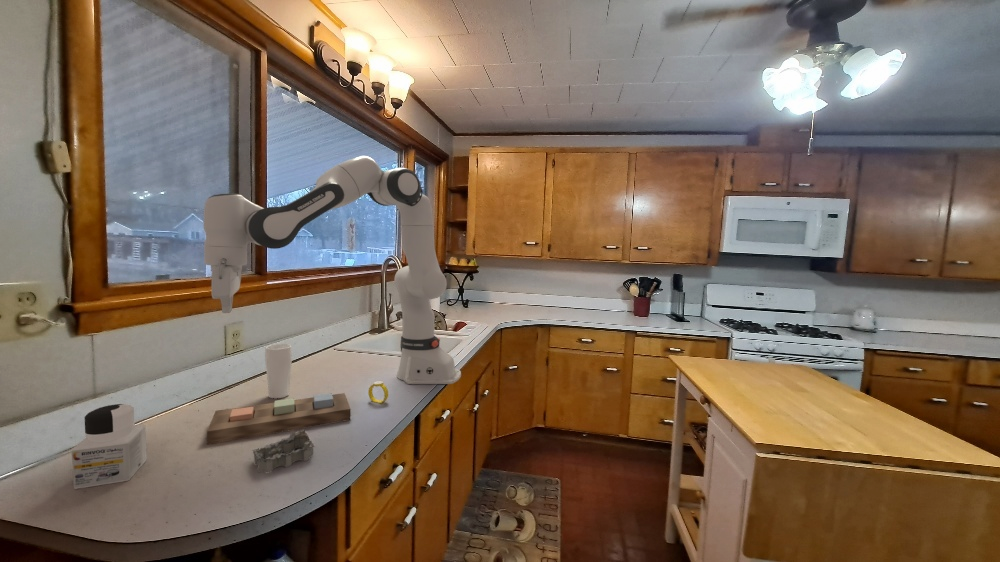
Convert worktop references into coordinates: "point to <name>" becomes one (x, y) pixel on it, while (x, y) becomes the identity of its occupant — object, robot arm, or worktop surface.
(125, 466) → the container
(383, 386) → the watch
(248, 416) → the terracotta button
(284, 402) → the sage button
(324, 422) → the button panel
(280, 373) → the drinking glass
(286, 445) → the egg carton
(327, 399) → the slate button
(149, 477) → the worktop surface
